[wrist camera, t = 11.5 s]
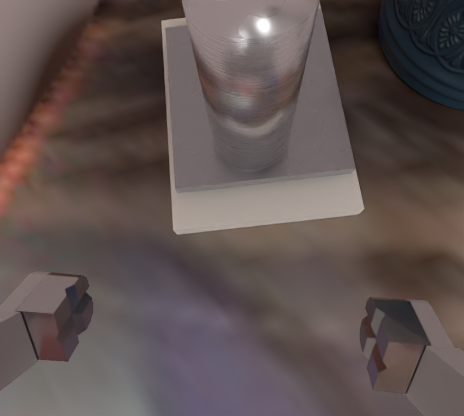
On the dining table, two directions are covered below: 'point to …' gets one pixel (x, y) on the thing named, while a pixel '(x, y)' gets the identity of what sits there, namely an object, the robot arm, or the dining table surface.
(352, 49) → the dining table surface
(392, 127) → the dining table surface
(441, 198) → the dining table surface
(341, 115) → the grey square plate
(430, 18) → the canister
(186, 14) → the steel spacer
